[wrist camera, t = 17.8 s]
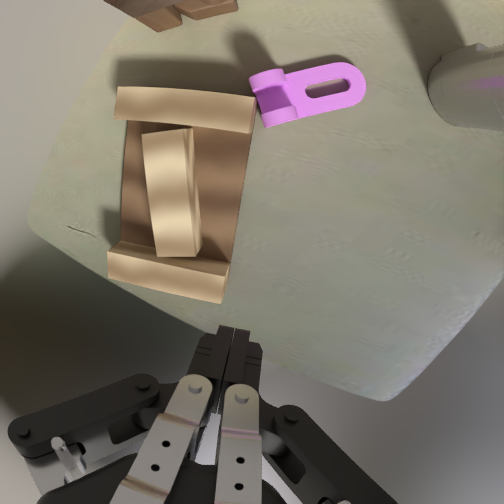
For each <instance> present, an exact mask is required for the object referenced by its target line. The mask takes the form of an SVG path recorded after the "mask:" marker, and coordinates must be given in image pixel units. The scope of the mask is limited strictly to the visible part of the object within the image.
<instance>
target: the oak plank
mask: <svg viewBox="0 0 504 504" xmlns="http://www.w3.org/2000/svg"><path fill="white" fill-rule="evenodd" d="M142 146H143V156H144V166H145V175H146V183H147V191H148V199H149V207H150V214H151V221H152V227H153V234H154V240H155V246H156V252H157V257H196V255H197V253H198V252H199V250H200V249H201V247H202V246H203V238H202V229H201V219H200V209H199V199H198V188H197V177H196V165H195V153H194V140H193V128H190V129H178V130H170V131H162V132H155V133H148V134H142Z"/></svg>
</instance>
